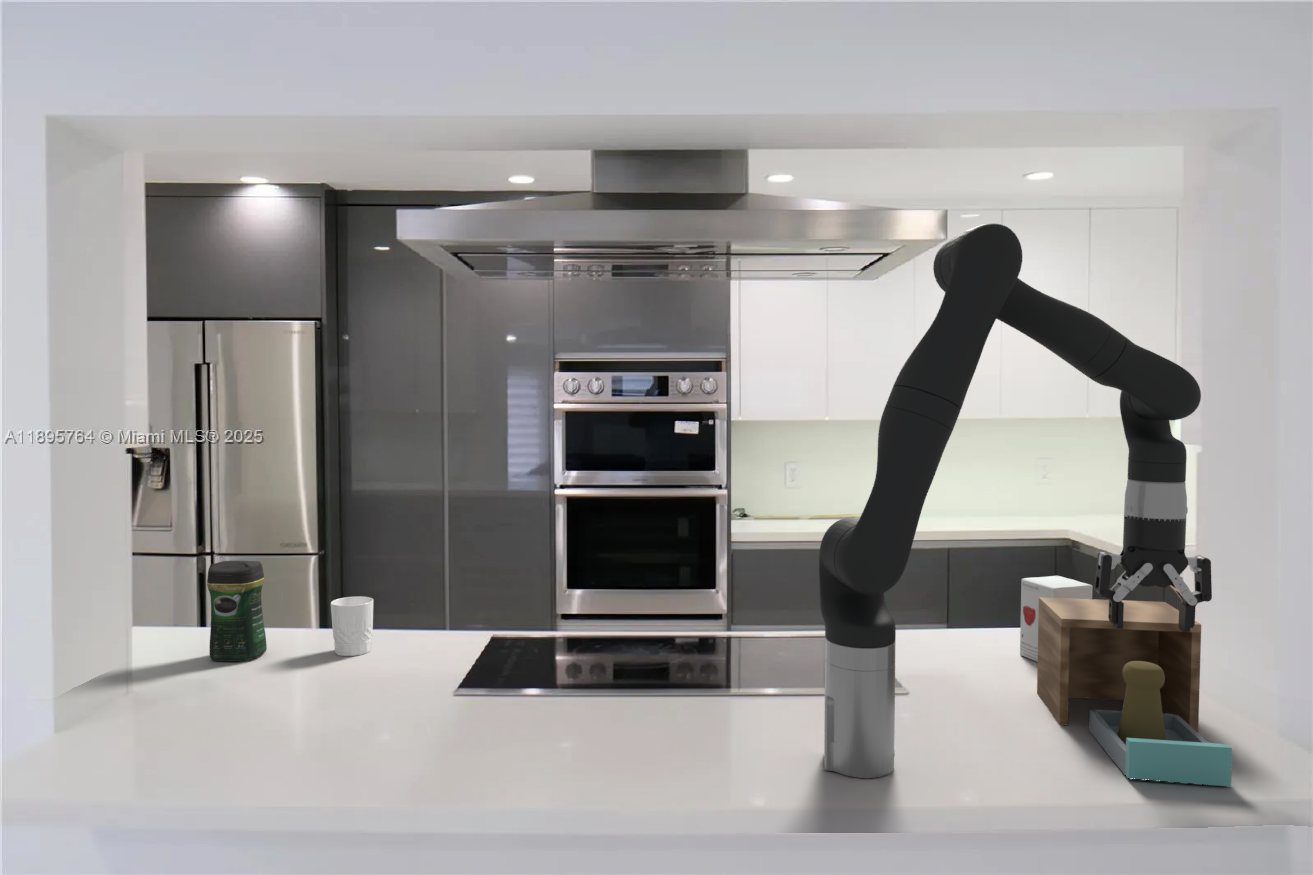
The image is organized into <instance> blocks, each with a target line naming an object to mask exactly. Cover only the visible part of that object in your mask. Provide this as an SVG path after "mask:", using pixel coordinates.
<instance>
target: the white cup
mask: <svg viewBox="0 0 1313 875" xmlns="http://www.w3.org/2000/svg"><path fill="white" fill-rule="evenodd" d="M330 613H331V625H332V637H333V642H334V654H335V655H337V656H340V657H356V656H362V655H365V654H368V653H370V652H371V651H372V637H373V630H374V629H373V628H374V598H372V597H371V596H370V597H369V596H360V595H359V596H346V597H341V598H337V599H333V600H332V601H331V602H330Z"/></svg>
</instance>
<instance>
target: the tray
mask: <svg viewBox="0 0 1313 875" xmlns="http://www.w3.org/2000/svg"><path fill="white" fill-rule="evenodd" d="M1121 714H1122V710H1111V709H1110V710H1109V709H1107V710H1106V709H1095V708H1088V730H1089V731H1090V733H1091V734H1092V735H1093V736H1094V738H1095V739H1096V740H1097V742H1098V743H1099V744H1100V745H1101V746H1102V748H1103V749H1104V750H1105V751H1106V753H1107V754H1108V755H1109V757H1110V758H1111V759H1112V761H1113V762H1114V763H1115V764H1116V765H1117V767H1118V768H1119V769H1120V771H1121V772H1122V773H1123V775H1124V776H1125V775H1126V776H1125V777H1126V779H1128V778H1133V779H1134V778H1135V779H1144V780H1143V781H1146V780H1145V779H1147V780H1148V779H1149V780H1158V781H1157V782H1160V781H1168V782H1167V783H1174V782H1180V783H1179V784H1188V783H1196V784H1195V785H1202V784H1204V786H1217V787H1218V786H1220V787H1230V788H1231V786H1232V760H1233V755H1232V754H1233V747H1232V746H1231V745H1229V744H1228V743H1214V742H1213V743H1212V742H1209V741H1208V740H1206V738H1204V737H1203V736H1202V735H1201V734H1200V733H1199V731H1198V732H1196V731H1195V730H1194V729H1193V728H1192V727H1191V726H1190V725H1189V724H1188V723H1187V722H1185V721H1184V720H1183V719H1182V718H1181V717H1180V716H1179V715H1178V714H1169V713H1164V712H1163V721H1164V729H1165V737H1166V740H1154V739H1139V738H1126V743H1124V742H1123V741H1122V740H1121V739H1120V738H1119V737H1118V731H1119V726H1120V720H1121ZM1159 780H1160V781H1159ZM1169 781H1170V782H1169ZM1205 784H1206V785H1205ZM1207 784H1208V785H1207Z"/></svg>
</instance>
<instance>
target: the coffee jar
mask: <svg viewBox="0 0 1313 875" xmlns="http://www.w3.org/2000/svg"><path fill="white" fill-rule="evenodd" d="M206 578H207V579H206V587H207V590H208V591H209V595H210V605H211V606H210V608H211V609H210V610H211V612H210V613H211V614H210V634H209V658H210V659H211V660H212V661H217V662H218V661H219V662H243V661H248V660H251V659H258V658H260V657H262V656H263V655H264V654H265V653H267V652H266V651H267V635H266V630H265V623H264V616H263V613H264V612H263V607H262V606H263V604H262V590H263V587H264V584H265V572H264V567H263V565H262V563H261V561H258V560H221V561H218V562H216V563H212V564H210V565H209V567H208V571H207V577H206Z"/></svg>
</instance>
